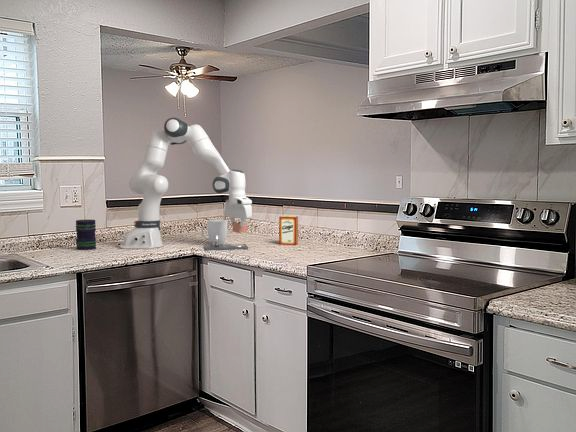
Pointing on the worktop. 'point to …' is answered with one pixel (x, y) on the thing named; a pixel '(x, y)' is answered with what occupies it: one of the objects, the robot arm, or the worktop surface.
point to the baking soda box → (288, 230)
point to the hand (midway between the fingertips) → (237, 226)
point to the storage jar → (85, 234)
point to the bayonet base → (224, 247)
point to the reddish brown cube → (239, 228)
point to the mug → (216, 230)
